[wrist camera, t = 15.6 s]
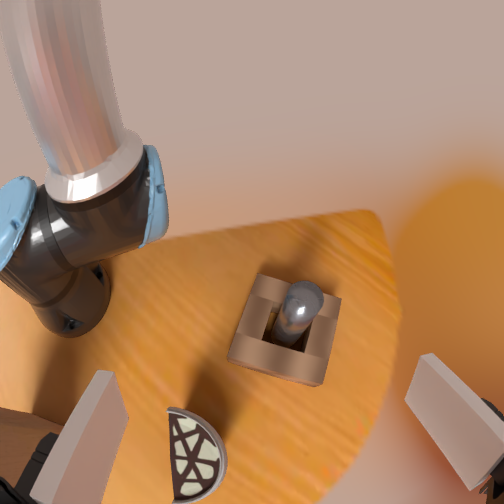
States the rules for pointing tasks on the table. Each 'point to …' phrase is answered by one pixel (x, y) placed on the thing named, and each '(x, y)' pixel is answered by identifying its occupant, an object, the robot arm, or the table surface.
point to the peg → (297, 313)
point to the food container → (194, 456)
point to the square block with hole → (276, 357)
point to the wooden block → (20, 440)
